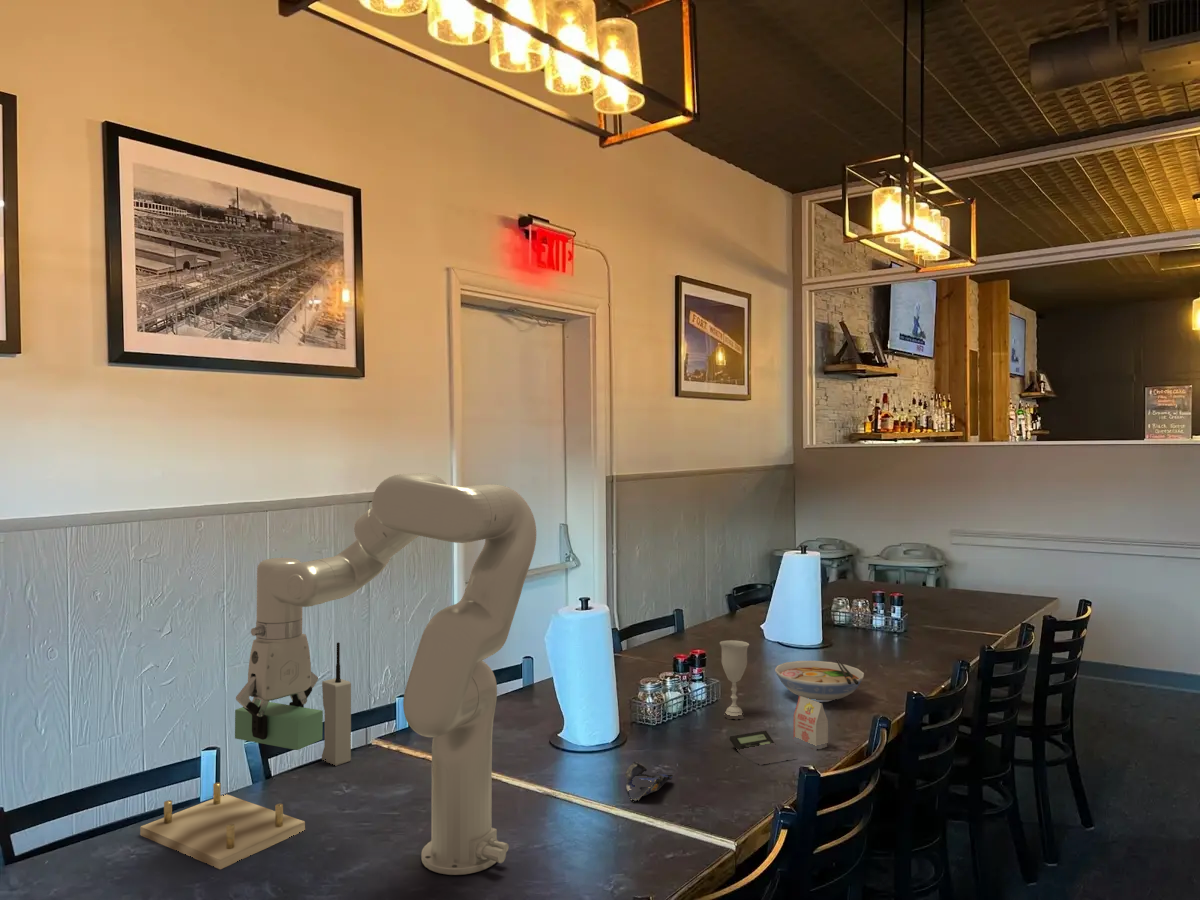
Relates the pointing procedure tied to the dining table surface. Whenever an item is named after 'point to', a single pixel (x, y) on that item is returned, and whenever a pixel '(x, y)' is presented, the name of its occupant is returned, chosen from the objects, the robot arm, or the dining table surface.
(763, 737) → the calculator
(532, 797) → the dining table surface
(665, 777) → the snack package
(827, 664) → the ramen bowl
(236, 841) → the chassis plate
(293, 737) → the olive green box
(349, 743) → the vintage mobile phone
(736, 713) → the chalice
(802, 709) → the paper takeout bag
